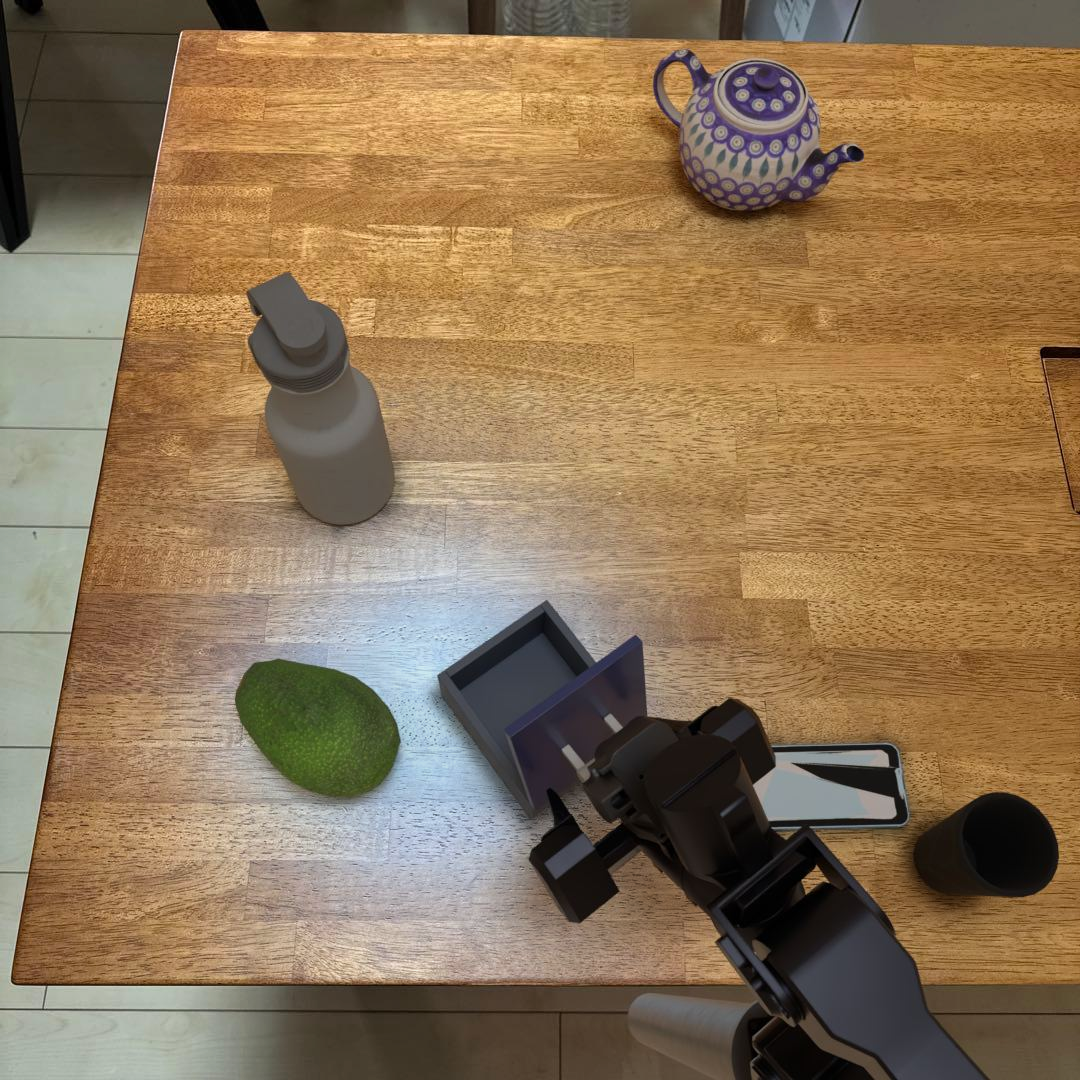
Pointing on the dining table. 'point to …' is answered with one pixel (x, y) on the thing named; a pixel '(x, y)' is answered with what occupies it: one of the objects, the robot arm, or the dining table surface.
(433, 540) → the dining table surface
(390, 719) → the fruit
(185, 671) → the dining table surface
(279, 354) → the water bottle
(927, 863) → the cup
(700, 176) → the teapot
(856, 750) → the smartphone
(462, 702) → the box
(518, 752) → the lid
